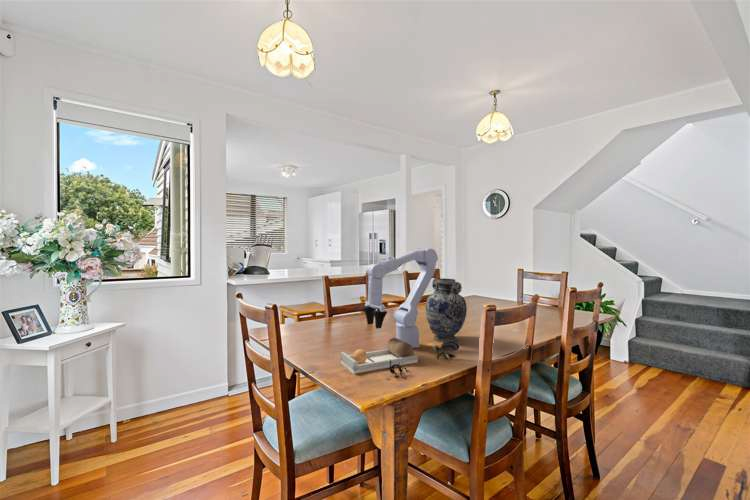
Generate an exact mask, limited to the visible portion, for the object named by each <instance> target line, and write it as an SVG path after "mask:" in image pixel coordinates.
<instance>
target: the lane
mask: <svg viewBox="0 0 750 500" xmlns="http://www.w3.org/2000/svg"><path fill="white" fill-rule="evenodd" d="M365 352H366V353H367V359H366V361H365V362H364V363H361V364H359V363H357V362H356V361H355V360H354V358H353V355H354V353H353V354H349V355H348V354H347V353H346V352H344V351H342V352H340V364H342V365H343V366H344V367H345V368H346V369H347V370H349V371H350V372H351V373H352V374H355V375H356V374H361V373H366V372H373V371H377V370H383V369H388V368H389V369H390V360H391V365H394V364H397V365H398V364H399V363H400V364H399V365H400V366H404V365H405V366H406V365H409V364H415V363H418V354H413V355H412V356H406V357H401V358H399V357H398V356H396V355H394V354H392V353H391V352H389V351H388V348H386V349H380V350H374V351H365ZM389 359H390V360H389ZM402 363H403V364H402Z"/></svg>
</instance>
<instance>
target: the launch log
mask: <svg viewBox="0 0 750 500" xmlns="http://www.w3.org/2000/svg"><path fill="white" fill-rule="evenodd" d="M386 347H387V348H386V349H388V351H389V352H391V353H392V354H394V355H396V356H398V357H399V358H401V357H406V356H412V355H414V351H415V350H414V348H413V347H412V346H411V345H410V344H408V343H406V342H404V341H401V340H399V339H397V338H396V337H392V338H391V339H389V340H388V342H387V346H386Z"/></svg>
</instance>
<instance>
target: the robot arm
mask: <svg viewBox="0 0 750 500" xmlns="http://www.w3.org/2000/svg"><path fill="white" fill-rule="evenodd" d="M438 259H439V257H438V254H437V251H436V250H435V249H434V248H420V247H419V248H417V249H412V250H411V251H409V252H407V253H404V254H402V255H400V256H398V257H394V256H386V259H383V260H378V261H377V262H376V263H371V264H370V265H368V267H367V269H366V271H365V273H366V275H367V277H368V286H367V287H368V291H367V300H365V301H364V302H365V303H364V306H365V307H364V306H363V307H362V309H363V311H364V314H365V316H366V317H365V318H366V322H367V325H373V324H375V329H382V326H383V323H384V320H385V318H386V315H387V314H388V311H387V310H386V306H385V305H384V304H383V278H384V277H385V275H388V274H389V273H392V272H394V271H396V270H398V269H399V267H400V266H402V265H403V264H406V263H409V262H412V261H415V262H416V264H417V266H418V267H419V268H420V272H419V274H418V277H417V278H416V281H415V283H414V284H413V286H412V288H411V289H410V292H409V293H408V296H407V298H406V300H405V301H404V302H403V303H401V304H400V305H399V307H398V308H397V309H396V310H394V312H393V316H392V319H393V320H394V322H395V330H396V331H395V332H396V333H395V334H396V336H395V338H397V339H399V340H401V341H404V342H406V343H408V344H410V345H411V346H412V347H413V349H414V348H415V349H416V348H420V347H421V345H420V331H419V328H418V326H417V325H416V323H417V316H418V314H419V312H418V311H419V310H418V308H417V307H418V306H419V304H420V302H421V300H422V298H423V297H424V296H423V295H425V292H426V290H427V288H428V286H429V284H430V282H431V280H433V277H434V274H435V271H436V266H437V265H436V263H437V262H438ZM374 322H375V323H374Z"/></svg>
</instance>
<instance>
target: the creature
mask: <svg viewBox="0 0 750 500" xmlns="http://www.w3.org/2000/svg"><path fill="white" fill-rule="evenodd" d="M389 360H390V359H389ZM399 364H400V363H399ZM399 364H398V365H397V364H394V365H391V360H390V367H389V369H388V370H389V372H390V373H391V374H392V375H395V378H398V376H397V372H396V371H395V367H397V369H398V372H399V375H400V377H401V378H403V379H405V377H404V376H403V375H402V374H403V372H404V370H405V372H406V373H410V374H412V373H411V371H410V369H409V370H408V369H407V368H406V367H402V366H401V365H399ZM402 364H403V363H402Z"/></svg>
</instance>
